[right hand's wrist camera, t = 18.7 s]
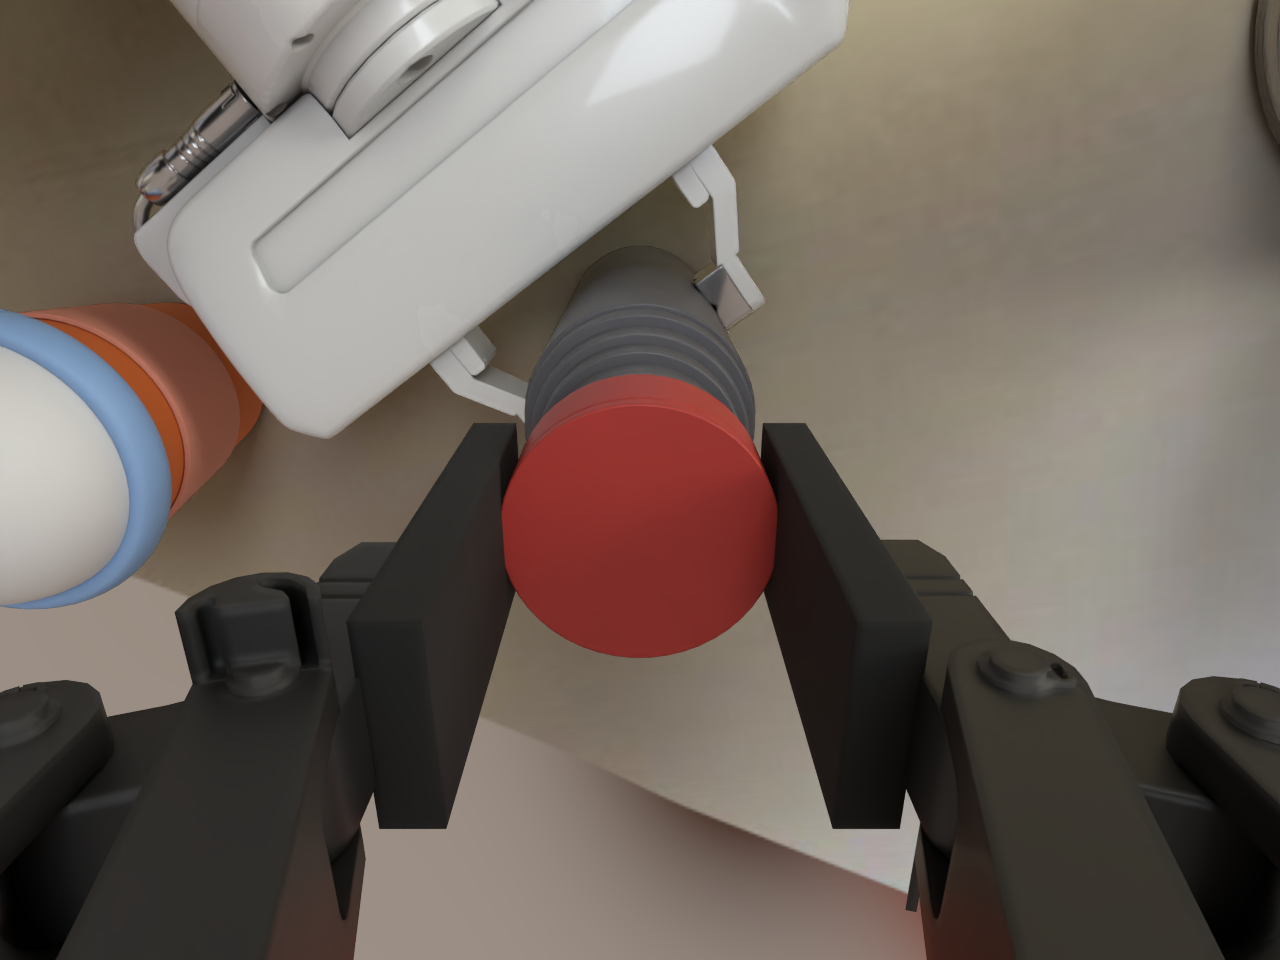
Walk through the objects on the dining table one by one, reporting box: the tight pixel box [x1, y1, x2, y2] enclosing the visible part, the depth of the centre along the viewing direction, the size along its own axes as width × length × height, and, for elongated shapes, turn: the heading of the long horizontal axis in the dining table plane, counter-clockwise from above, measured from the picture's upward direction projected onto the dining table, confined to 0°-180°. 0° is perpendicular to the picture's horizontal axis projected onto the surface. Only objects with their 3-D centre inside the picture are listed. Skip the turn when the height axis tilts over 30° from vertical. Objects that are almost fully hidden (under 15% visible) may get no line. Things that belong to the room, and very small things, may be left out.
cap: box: [501, 374, 778, 658], centre depth 13 cm, size 4×4×2 cm
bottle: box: [524, 246, 755, 441], centre depth 22 cm, size 5×5×19 cm
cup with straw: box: [0, 303, 263, 609], centre depth 23 cm, size 9×9×18 cm
